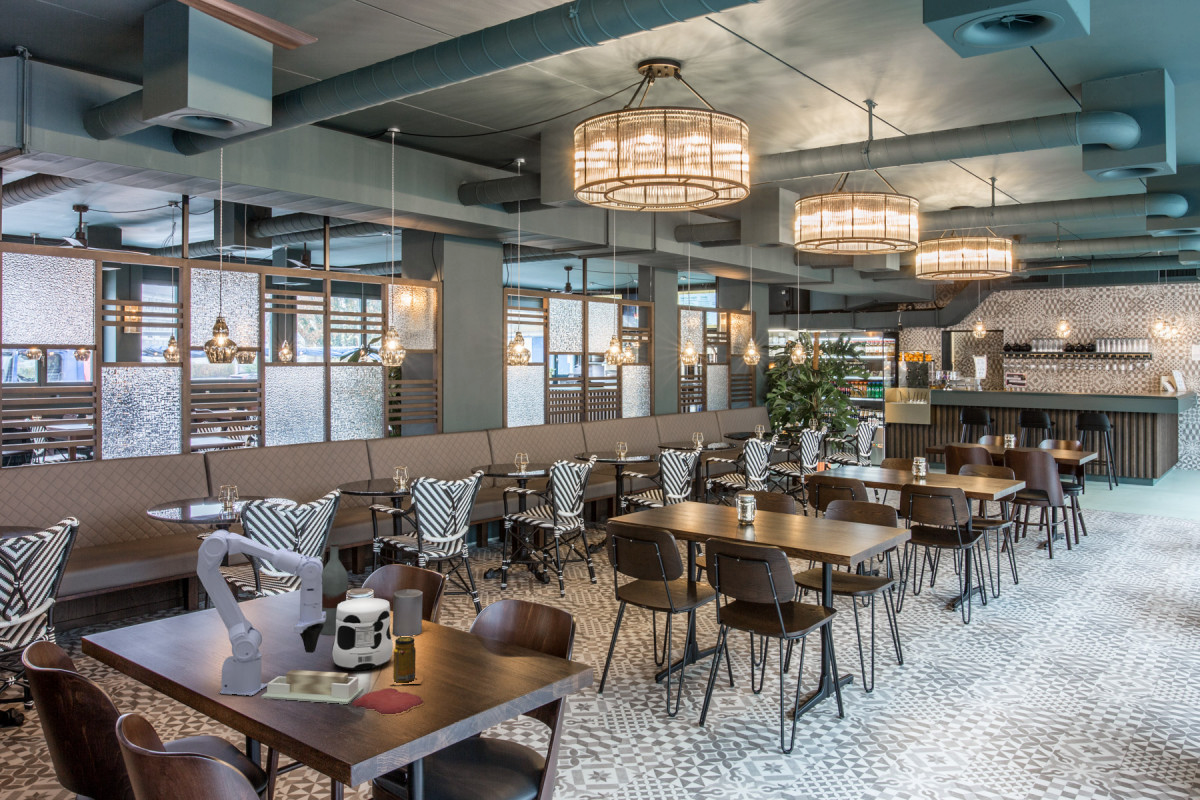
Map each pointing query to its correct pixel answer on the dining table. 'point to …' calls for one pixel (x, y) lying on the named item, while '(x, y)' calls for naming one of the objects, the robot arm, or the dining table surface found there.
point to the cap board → (312, 697)
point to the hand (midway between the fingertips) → (310, 651)
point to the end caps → (337, 690)
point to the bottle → (333, 589)
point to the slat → (314, 681)
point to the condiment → (404, 660)
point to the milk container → (362, 634)
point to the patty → (388, 701)
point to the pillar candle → (407, 612)
